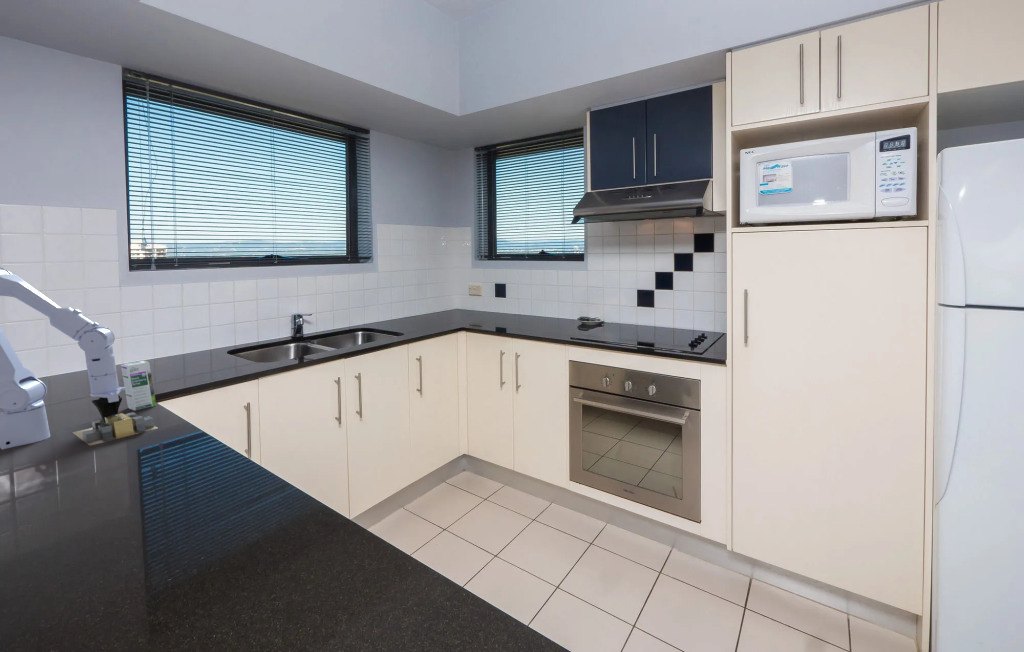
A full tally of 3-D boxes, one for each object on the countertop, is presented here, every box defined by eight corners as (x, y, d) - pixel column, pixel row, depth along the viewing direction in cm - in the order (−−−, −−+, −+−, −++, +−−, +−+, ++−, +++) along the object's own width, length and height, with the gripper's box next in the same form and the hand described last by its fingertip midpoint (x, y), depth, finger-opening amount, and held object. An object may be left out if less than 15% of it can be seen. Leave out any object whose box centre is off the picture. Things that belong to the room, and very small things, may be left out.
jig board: (90, 448, 118) (89, 445, 118) (72, 435, 129) (72, 432, 129) (158, 431, 129) (158, 428, 129) (137, 419, 140) (137, 417, 140)
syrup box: (134, 413, 147) (126, 365, 145) (127, 410, 150) (120, 363, 148) (157, 408, 151) (149, 361, 149) (150, 405, 155) (143, 359, 153)
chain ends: (90, 445, 118) (87, 430, 117) (80, 438, 123) (78, 424, 123) (158, 428, 129) (155, 414, 128) (146, 422, 134) (144, 409, 134)
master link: (116, 438, 122) (113, 421, 121) (107, 432, 127) (104, 416, 126) (134, 434, 125) (131, 417, 124) (124, 428, 130) (121, 412, 129)
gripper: (129, 374, 127) (137, 425, 129) (114, 368, 136) (121, 416, 138) (94, 380, 122) (103, 433, 123) (81, 373, 131) (89, 423, 133)
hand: (111, 424), depth 130 cm, fingers closed
